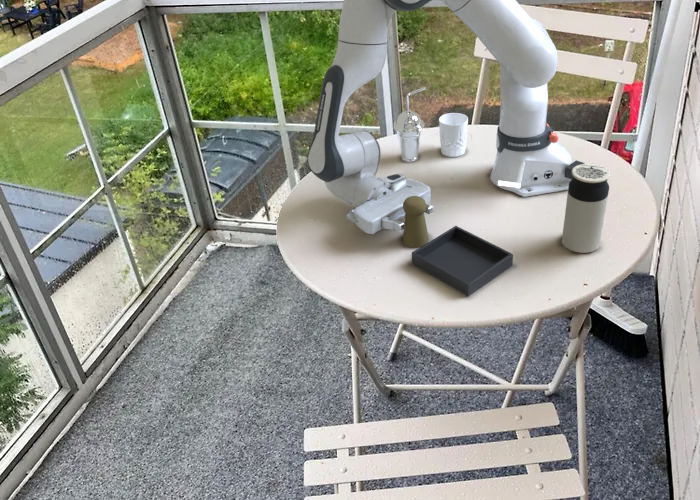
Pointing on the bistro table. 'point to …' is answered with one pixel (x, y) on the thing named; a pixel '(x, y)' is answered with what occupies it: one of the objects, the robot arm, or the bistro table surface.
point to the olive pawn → (415, 222)
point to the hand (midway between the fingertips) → (417, 218)
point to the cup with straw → (409, 131)
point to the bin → (462, 260)
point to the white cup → (453, 134)
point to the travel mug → (585, 208)
